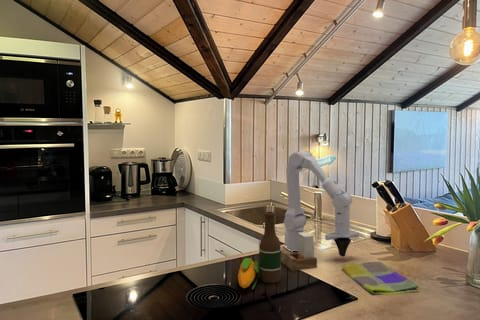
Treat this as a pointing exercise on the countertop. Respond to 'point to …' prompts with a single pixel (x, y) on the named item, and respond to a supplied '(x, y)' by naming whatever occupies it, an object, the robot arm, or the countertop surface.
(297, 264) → the caddy
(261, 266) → the beer bottle
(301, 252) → the skincare box
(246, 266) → the corn
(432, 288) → the countertop surface
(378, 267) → the dish towel
